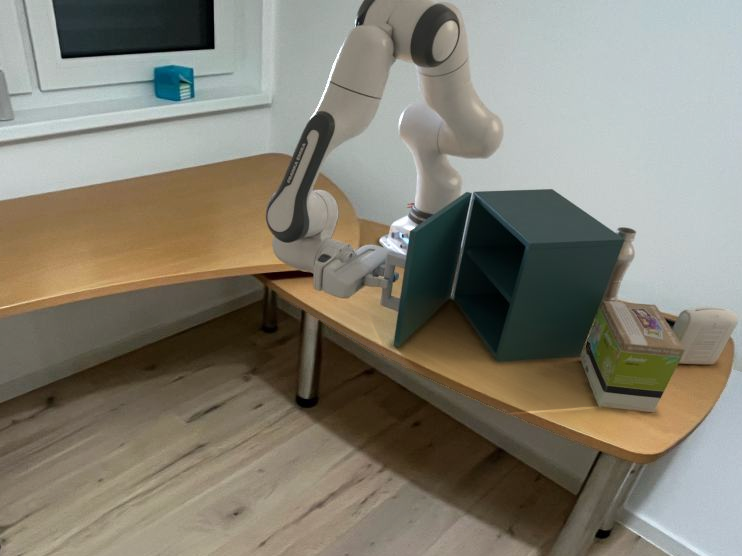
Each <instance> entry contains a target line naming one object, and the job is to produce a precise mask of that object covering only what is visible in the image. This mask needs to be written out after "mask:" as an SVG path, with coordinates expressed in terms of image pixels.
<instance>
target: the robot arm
mask: <svg viewBox="0 0 742 556" xmlns="http://www.w3.org/2000/svg"><path fill="white" fill-rule="evenodd" d="M469 50H470V49H469V42H468V35H467V31H466V26H465V22H464V19H463V15H462V12H461V10H460V9H459V8H458V6H457V5H455V4H454V3H451V2H448V1H439V2H434V1H432V0H363V1H362V3H361V4H360V6H359V8H358V9H357V13H356V16H355V20H354V26H353V28H352V29H351V30H350V31H349V32H348V33H347V35H346V37H345V39H344V40H343V42H342V45H341V47H340V49H339V51H338V54H337V55H336V58H335V60H334V62H333V65H332V68H331V71H330V73H329V77H328V80H327V83H326V87H325V89H324V91H323V94H322V96H321V99H320V101H319V103H318V105H317V107H316V109H315V111H314V113H312V115H311V117H310V118H309V120H308V122H307V123H306V125H305V127H304V128H303V131H302V133H301V135H300V137H299V138H298V139H299V140H298V142H297V144H296V147H295V149H294V152H293V154H292V156H291V158H290V161H289V163H288V166H287V169H286V171H285V174H284V176H283V177H282V180H281V183H280V185H279V187H278V188H277V190H276V191H275V192H274V194H273V195H272V196H271V197H270V199H269V200H268V202H267V205H266V207H265V208H266V209H265V222H266V225H267V228H268V230H269V231H270V233H271V234H272V235H273V237H272V241H271V242H272V243H271V244H272V245H271V248H272V251H273V254H274V255H275V257H276V258H277V259H278V260H279V261H280V262H282V263H284V264H285V265H287V266H289V267H291V268H294V269H296V270H298V271H301V272H306V273H311V274H313V279H312V280H313V281H312V283H313V289H314V290H315V291H318V292H322V291H323V292H324V293H325V294H327V295H329V296H333V297H335V298H339V299H350V298H351V297H353V296H354V295H355V294H357V293H358V292H359V291H361V290H362V289H364V288H365V287H368V288H381V289H382V288H384V289H386V288H388V287H389V286H390V283H391V279H389V278H386V277H384V271H385V263H386V255H387V252H388V251H395V252H398V253H401V254H404V255H407V248H408V241H409V234H410V230H412V229H413V228H415V227H416V226H418V225H419V224H420V223H422V222H423V221H425V220H426V219H428V218H429V217H431V216H432V215H434V214H435V213H437V212H438V211H439V210H441V209H442V208H444V207H445V206H447V205H448V204H450V203H451V202H453V201H454V200H456V199H457V198H458V197H460V196H461V195H462V188H463V178H462V176H461V174H460V173H459V171H458V170H456V168H455V167H453V166H452V164H451V163H450V161H449V158H448V156H452V157H457V158H461V159H466V160H487V159H488V158H490V157H492V156H493V155H494V154H495V153H496V152H497V151H498V150H499V148H500V146H501V145H502V142H503V139H504V125H503V121H502V119H501V118H500V117H499V115H497V114H495V113H494V112H493V111H492V110H490V109H489V108H488V107H487V106H486V104H485V103H484V102H483V100H482V99H481V98H480V96H479V95H478V93H477V91H476V89H475V87H474V85H473V82H472V75H471V66H470V51H469ZM397 60H399V61H401V62H405V63H410V64H414V66H415V73H416V79H417V86H418V93H419V96H420V98H421V100H422V101H419V102H412V103H409V104H408V105H407V106H406V107H405V108H404V110H403V111H402V112H401V114H400V116H399V120H398V127H397V130H398V134H399V138H400V140H401V141H402V142H403V143H404V145H405V146H406V147H407V149H408V150H409V152H410V154H411V156H412V158H413V162H414V166H415V170H416V190H415V198H414V202H411V203H407V207H406V208H407V209H410V210H409V212H408V214H407V215H405V216H403V217H401V218H398V219H396V220H394V222H392V224H391V225H390V227H389V232H388V234H385V235H382V236H381V237H380V239H379V244H380V245H381V246H380V245H375V244H365V245H362V246H361V247H360V246H358V247H357V248H356V249H354V248H353V246H352V244H349V243H347V242H344V241H341V240H337V239H334V238H333V236H334V233H335V230H336V229H337V225H338V220H339V217H340V207H339V203H338V201H337V199H336V198H335V196H334V194H332V193H331V192H329V191H328V190H326V189H314V187H315V185H316V183H317V180H318V177H319V175H320V173H321V171H322V169H323V166H324V163H325V162H326V160H327V159H328V157H329V156H330V155H331V154H332V153H333V152H334V151H335V150H336V149H338V148H339V147H340V146H342V145H343V144H345V143H347V142H348V141H350V140H353V139H355V138H358V137H359V136H360V135H362V134H364V133H365V132H366V131H367V130H368V128H369V127H370V125H371V124H372V122H373V120H374V119H375V117H376V114H377V112H378V110H379V107H380V104H381V101H382V99H383V96H384V93H385V91H386V87H387V83H388V79H389V76H390V71H391V68H392V66H393V65H394V64H395V63H396V62H397ZM399 278H400V273H399V272H398V271H396V270H395V271H394V279H393V283H396V282H397V281H398V280H399Z"/></svg>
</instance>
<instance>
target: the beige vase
mask: <svg viewBox="0 0 742 556" xmlns="http://www.w3.org/2000/svg"><path fill="white" fill-rule="evenodd" d="M615 233H616V234H618V235H619V236H621V237H622V238H624V239H625V241H624V243H623V246H622V249H621V251H620V254H619V256H618V259H617V262H616V264H615V267H614V270H613V272H612V275H611V277H610V280H609V283H608V285H607V288H606V290H605V293H604V296H603V298H602V301H603V300H604V301H612V302H618V296H619V291H620V288H621V285H622V281H623V279H624V277H625V275H626V273H627V271H628V269H629V268H630V266H631V264H632V262H633V260H634V258H635V255H636V254H635V253H636V252H635V248H634V245H633V242H634V241H635V237H636V234H637V231H636V230H635V229H633V228H630V227H625V226H623V227H622V226H621V227H620V226H619V227H618V228H617V229H616V231H615ZM602 301H601V302H602ZM600 305H601V304H600ZM599 307H600V306H599ZM598 310H599V309H598ZM597 313H598V311H597Z"/></svg>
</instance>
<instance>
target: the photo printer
mask: <svg viewBox="0 0 742 556" xmlns="http://www.w3.org/2000/svg"><path fill="white" fill-rule="evenodd" d="M675 321H676V322H675V324H674V326H673V328H672V331H673V332H674V334H675V335H676V337H677V338H678V340H679V341H680V343H681V344H682V346H683V347H684V349H685V351H684V353H683V355H682V358H681V360H680V362H679V363H678V364H680V365H681V364H685V365H714V364H716V362H717V361H718V359H719V357H720V356H721V354H722V352H723V350H724V348H725V347H726V344H727V343H728V341H729V339H730V338H731V336H732V335H733V332H734V331H735V329H736V328H737V325H738V323H739V322H738V321H739V316H738V314H737V313H735V312H734V311H733V310H731V309H728V308H725V307H718V306H698V307H691V308H687V309H684V310H682V311H681V312H680V313H679V315H678V316H677V318H676V320H675Z"/></svg>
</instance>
